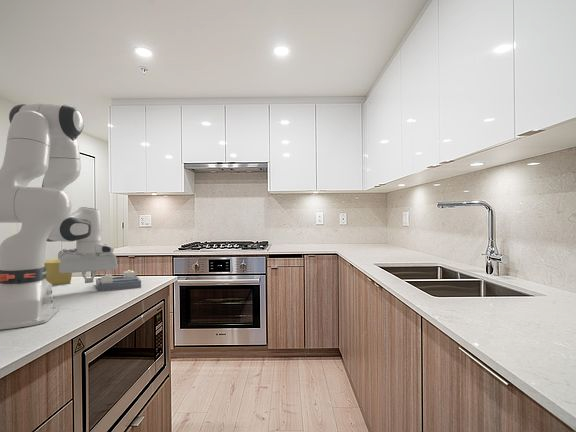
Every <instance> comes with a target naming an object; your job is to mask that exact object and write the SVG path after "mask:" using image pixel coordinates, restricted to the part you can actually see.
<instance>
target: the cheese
mask: <svg viewBox="0 0 576 432" xmlns="http://www.w3.org/2000/svg"><path fill="white" fill-rule="evenodd" d="M44 265H45V267H46V270H47V273H46V278H45V279H46V280H47V281H48V282H49V283H50V284H52V286H59V285H64V284H65V285H66V284H71V281H72V275H73V273H60V272H59V265H60V260H59V259H58V258H56V259H49V260H45V264H44Z"/></svg>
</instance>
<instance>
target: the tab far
mask: <svg viewBox="0 0 576 432" xmlns="http://www.w3.org/2000/svg"><path fill="white" fill-rule="evenodd" d="M135 273H136V272H135V271H134V270H130V269H128V270H127V271H123V276H124V278H135V275H136V274H135Z"/></svg>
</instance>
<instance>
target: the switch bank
mask: <svg viewBox="0 0 576 432" xmlns="http://www.w3.org/2000/svg"><path fill="white" fill-rule="evenodd" d="M112 277H113V283H104V284H101V277H98V278H95V280H96V281H95V284H96V286H95V287H96V288H97V292H101V291H102V292H103V291H115V290H127V289H134V288H135V289H136V288H141V287H142V280H141V279H140V277H139V276H137V275H136V274H135V278H124V275H123V276H112Z"/></svg>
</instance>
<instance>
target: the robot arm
mask: <svg viewBox="0 0 576 432" xmlns="http://www.w3.org/2000/svg"><path fill="white" fill-rule="evenodd" d="M8 120H9V123H10V124H9V128H8V132H7V137H6V146H5V152H4V157H3V160H2V161H3V162H2V165H1V167H0V223H1V224H5V223H7V224H8V223H14V224H17V223H18V224H19V223H21V228H20V230H19V231H18V232H17V233H15V234H13V235H10V236H8V237H6V238H5V239H4V240H3V241H2V242H1V244H0V330H9V329H10V330H11V329H16V328H17V329H18V328H22V327H23V328H24V327H25V328H26V327H30V326H31V327H32V326H36V325H41V324H45V323H47V322H49V320H50V319H51V318H53V316H54V315H55V314H56V313H57V312H58V311H60V306H59V305H53V285H52V284H50V283H49V282H48V281H47V280H46V279H45V278H46V273H47V270H46V267H45V265H44V264H45V261H46V260H45V259H46V258H45V256H46V245H47V242H75V241H76V242H75V243H76V246H75V247H76V248H64V249H62V250H59V252H58V253H57V254H58V255H57V259H59V260H60V265H59V272H60V273H72V274H74V273H81V276H82V277H83V279H84V284H92V283H94V278H95V276H96V275H97V272H101V271H102V272H103V271H104V272H105V271H115V270H116V269H118V261H117V255H116V254H115V252H114V251H115V248H114V247H113V246H112V245H111V244H110V245H109V244H105V243H102V240H103V239H102V237H101V234H102V231H103V230H102V228H103V227H102V226H103V225H102V216H101V215H102V214H101V212H100V210H98V209H96V208H92V207H85V206H84V207H83V206H82V207H79V208H78V209H77V210H75V211H74V212H72V213H71V211H72V201H71V197H70V196H69V195H68V193H66V192H65V188H67V187H68V186H69V185H71V184H72V183H74V182H75V181H76V180H77V179H78V178H79V176H80V175H81V169H82V168H81V167H82V165H81V154H80V153H81V152H80V147H79V143H78V140H77V139H78V137H79V136H80V135H81V133H83V130H84V126H85V124H84V123H85V121H84V116H83V115H82V112H81V111H80V110H79V109H78V108H77V107H75V106H73V105H68V104H63V105H61V104H51V103H48V104H47V103H32V104H31V103H30V104H26V103H24V104H22V103H21V104H17V105H15V106H13V107H12V108H11V109H10V111H9V114H8ZM41 176H43V180H42V183H41V186H39V187H35V186H34V187H32V186H31V187H30V186H28V185H29V184H30V182H32V181H33V180H35V179H37V178H40V177H41ZM88 272H91V274H92V276H91V277H87V276H86V273H88Z"/></svg>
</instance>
